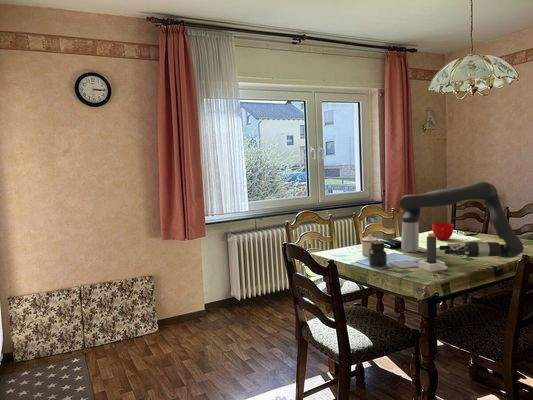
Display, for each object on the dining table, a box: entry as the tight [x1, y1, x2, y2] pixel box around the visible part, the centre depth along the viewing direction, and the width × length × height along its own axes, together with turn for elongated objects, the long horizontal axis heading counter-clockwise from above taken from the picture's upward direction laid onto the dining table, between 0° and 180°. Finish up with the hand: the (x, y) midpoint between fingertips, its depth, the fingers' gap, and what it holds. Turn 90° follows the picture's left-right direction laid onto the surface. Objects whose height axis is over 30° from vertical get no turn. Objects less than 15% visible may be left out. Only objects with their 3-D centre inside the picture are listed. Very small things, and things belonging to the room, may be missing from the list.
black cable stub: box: [426, 232, 437, 264], centre depth 205 cm, size 4×4×18 cm
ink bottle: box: [368, 240, 388, 268], centre depth 217 cm, size 10×9×12 cm
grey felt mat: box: [388, 259, 418, 270], centre depth 215 cm, size 12×12×1 cm
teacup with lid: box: [361, 234, 379, 257], centre depth 241 cm, size 12×9×12 cm
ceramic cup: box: [431, 222, 454, 241], centre depth 273 cm, size 13×17×10 cm
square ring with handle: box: [417, 259, 448, 273], centre depth 203 cm, size 15×9×4 cm, turn 18°
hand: (442, 249), depth 205 cm, fingers open, 8 cm apart
